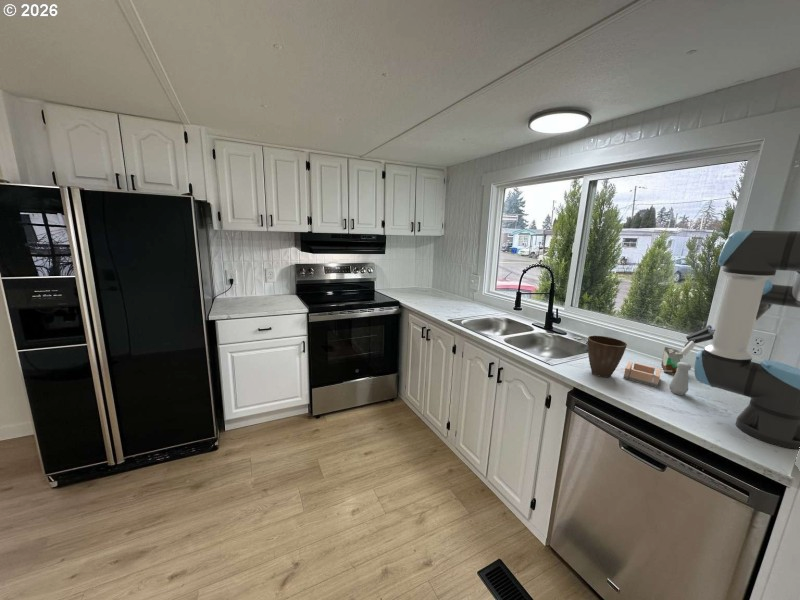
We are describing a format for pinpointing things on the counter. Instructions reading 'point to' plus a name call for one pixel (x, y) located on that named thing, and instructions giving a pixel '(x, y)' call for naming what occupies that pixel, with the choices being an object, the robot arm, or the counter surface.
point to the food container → (671, 360)
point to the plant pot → (604, 354)
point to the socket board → (642, 374)
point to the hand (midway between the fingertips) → (700, 359)
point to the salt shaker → (680, 379)
